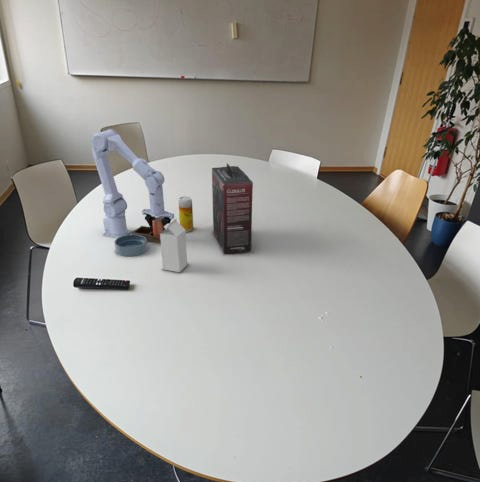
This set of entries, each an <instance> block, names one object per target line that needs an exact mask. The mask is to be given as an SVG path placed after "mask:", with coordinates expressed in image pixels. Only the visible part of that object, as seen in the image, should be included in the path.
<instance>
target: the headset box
mask: <svg viewBox="0 0 480 482" xmlns="http://www.w3.org/2000/svg"><path fill="white" fill-rule="evenodd" d="M253 188H254V182H253V180H251V179H250V178H249V176H248V175H247V174H246V173H245V171H244V170H242V169H241V168H240V167H239V166H238V165H237V166H236V165H230V164H229V163H226V166H220V167H219V166H218V167H211V189H212V193H211V195H212V228H213V229H212V230H213V231H212V232H213V235H214V236H215V238H216V241H217V243H218V244H219V246H220V248H221V251H222V252H223V254H235V253H245V252H246V253H247V252H252V235H253V234H252V233H253V232H252V231H253V230H252V227H253V192H254V191H253V190H254V189H253Z"/></svg>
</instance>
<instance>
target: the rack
mask: <svg viewBox="0 0 480 482" xmlns="http://www.w3.org/2000/svg"><path fill="white" fill-rule="evenodd" d="M131 235H141V236H144V237H145V238H146V239H147V243H152V244H158V245H161V240H160V237H158V236H153V232H152V231H151V229H150V226H146V225H141V226H139V227H138V228H136V229H135V230H133V231H131Z"/></svg>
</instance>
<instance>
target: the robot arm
mask: <svg viewBox="0 0 480 482" xmlns="http://www.w3.org/2000/svg"><path fill="white" fill-rule="evenodd" d="M90 143H91V145H92V147H91V153H92V157H93V160H94V163H95V167H96V169H97V173H98V176H99V180H100V182H101V185H102V188H103V192H104V198H103V200H102V203H103V212H104V216H103V227H104V233H103V235H106V236H112V237H116V238H119V237H121V236H125V235H129V234H130V233H132V230H130V229H128V226H127V219H126V211H127V209H128V203H127V201H126V199H125V198H124V195H123V193H121V192H119V190H118V187H117V184H116V180H115V177H114V173H113V171H112V167H111V163H110V160H109V156H108V154H109V153H110V152H117V153H118V154H119V155H121V157H122V158H124V159H125V160H126V161H127V162H129V164H131V165H132V170H133V171H134V172H135V173H137V174H138V176H140V178H141V179H142V180H143V181H144V184H145V187H147V190H148V196H149V197H148V199H149V207H150V208H149V209H148V208H143V209H142V210H141V214H142V215H143V216H144V220H145V221H146V223H147V224H148V227H150V229H151V231H152V232H153V228H152V219H153V218H155V217H163V218H164V219H162V220H161V221H162V224H163V229H164V230H165V228H164V226H165V225H167V224H168V223H171V222H172V221H173V220H174V219H175V213H172V212H169V211H166V210H165V202H164V189H163V185H164V183H165V175H164V174H163V173H162V172H161V171H160V170H156V169H155V168H153V167H152V166H151V165H150V164H149V163H148V161H147V160H146V159H144V158H139V157H137V155H136V154H135V153H134V152H133V151H132V150H131V148H130V147H128V146H127V145H126V143H125V142H124V141H123V140H122V137H121V135H120V134H119V133H117V131H116V130H115V129H112V128H108V129H106V130H104V131H101V132H96V133H94V134H93V136H92V137H91V139H90Z"/></svg>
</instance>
